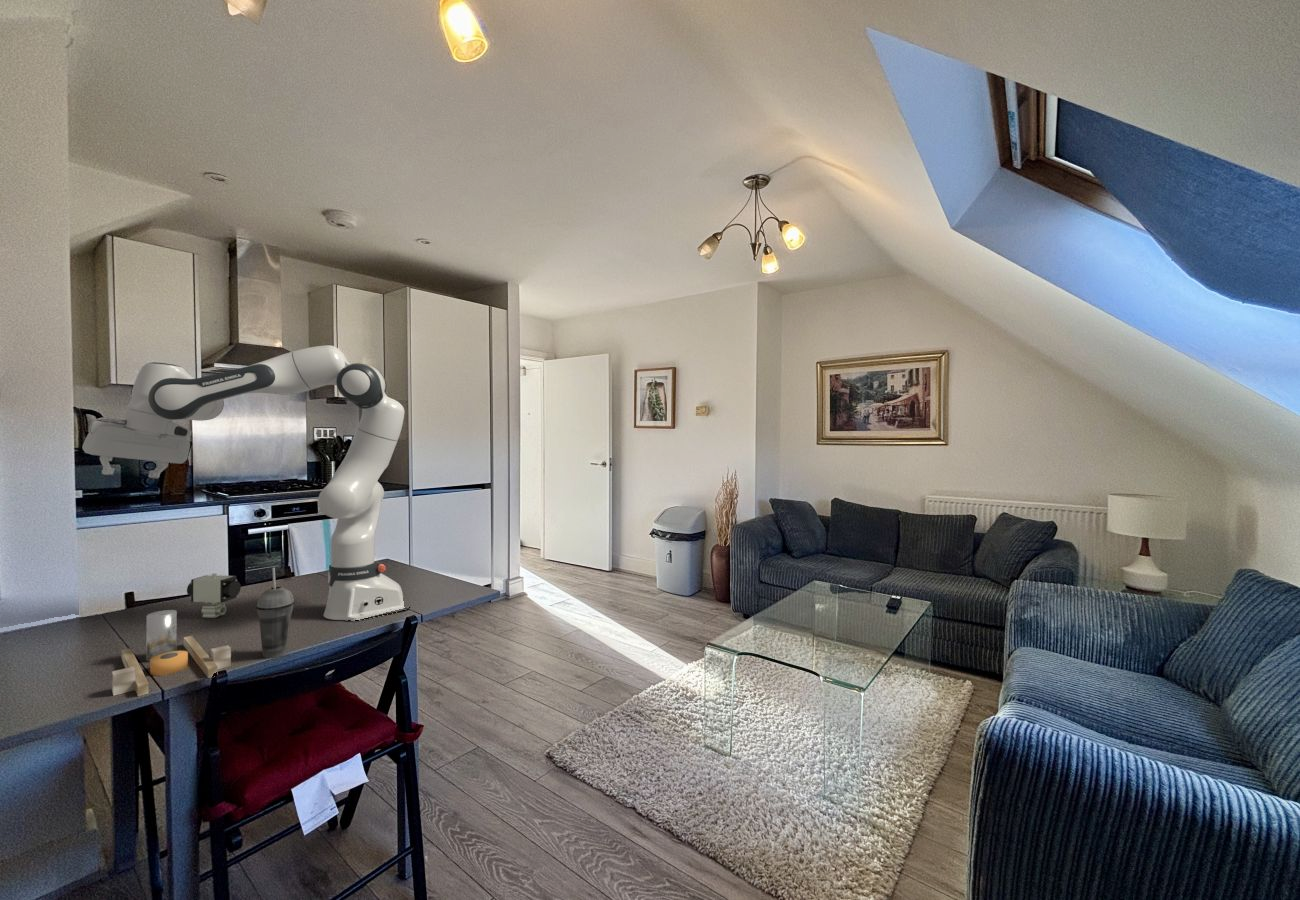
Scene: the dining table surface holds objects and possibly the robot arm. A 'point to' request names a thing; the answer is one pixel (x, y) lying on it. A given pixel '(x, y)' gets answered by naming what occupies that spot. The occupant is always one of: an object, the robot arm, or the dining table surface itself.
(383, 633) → the dining table surface
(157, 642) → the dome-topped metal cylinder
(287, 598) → the beverage cup
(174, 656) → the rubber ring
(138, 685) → the guide track
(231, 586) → the pneumatic valve
